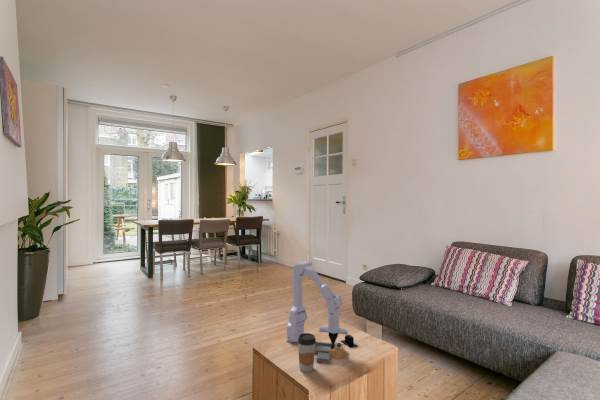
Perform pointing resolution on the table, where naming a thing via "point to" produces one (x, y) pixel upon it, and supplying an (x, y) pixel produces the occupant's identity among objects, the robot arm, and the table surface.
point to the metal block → (338, 346)
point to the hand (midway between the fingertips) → (333, 347)
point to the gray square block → (323, 357)
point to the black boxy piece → (349, 341)
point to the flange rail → (329, 349)
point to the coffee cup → (306, 351)
